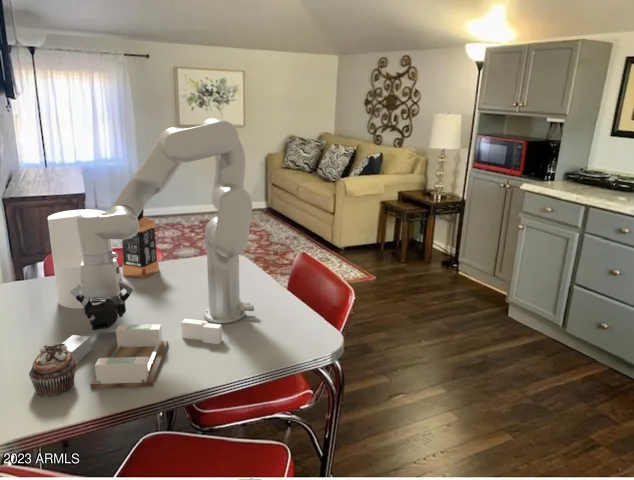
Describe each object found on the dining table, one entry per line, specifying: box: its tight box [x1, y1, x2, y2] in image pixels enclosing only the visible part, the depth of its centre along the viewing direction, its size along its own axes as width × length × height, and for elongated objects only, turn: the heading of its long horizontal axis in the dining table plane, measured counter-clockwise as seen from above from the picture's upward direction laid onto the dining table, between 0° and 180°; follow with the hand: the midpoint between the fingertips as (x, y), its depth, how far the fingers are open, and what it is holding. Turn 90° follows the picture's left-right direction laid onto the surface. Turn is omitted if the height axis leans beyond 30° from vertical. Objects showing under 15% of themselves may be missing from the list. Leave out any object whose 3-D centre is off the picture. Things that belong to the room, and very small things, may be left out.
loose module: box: [61, 334, 93, 364], centre depth 126 cm, size 5×8×4 cm, turn 173°
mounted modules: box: [94, 323, 163, 384], centre depth 123 cm, size 11×20×5 cm, turn 6°
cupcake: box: [28, 343, 77, 398], centre depth 112 cm, size 10×10×10 cm
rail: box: [97, 344, 160, 384], centre depth 123 cm, size 11×20×1 cm, turn 6°
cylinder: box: [47, 208, 108, 309], centre depth 158 cm, size 17×17×28 cm
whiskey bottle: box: [121, 208, 160, 279], centre depth 180 cm, size 10×10×32 cm
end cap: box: [89, 297, 119, 331], centre depth 137 cm, size 10×7×7 cm
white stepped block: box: [181, 318, 223, 345], centre depth 136 cm, size 15×11×6 cm
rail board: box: [89, 340, 169, 389], centre depth 123 cm, size 14×20×1 cm
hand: (106, 315), depth 137 cm, fingers closed on end cap, 8 cm apart
